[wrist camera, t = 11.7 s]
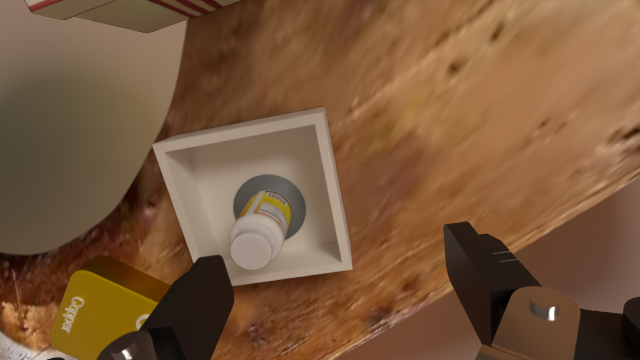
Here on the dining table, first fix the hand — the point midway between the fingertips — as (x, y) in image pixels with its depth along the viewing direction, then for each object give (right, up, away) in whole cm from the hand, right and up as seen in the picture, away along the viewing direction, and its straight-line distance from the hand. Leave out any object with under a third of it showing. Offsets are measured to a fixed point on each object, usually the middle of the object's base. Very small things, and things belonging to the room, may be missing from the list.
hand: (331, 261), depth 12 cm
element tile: (-28, -16, +37) cm, 49 cm away
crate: (-7, +1, +30) cm, 30 cm away
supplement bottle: (-7, -1, +29) cm, 30 cm away
